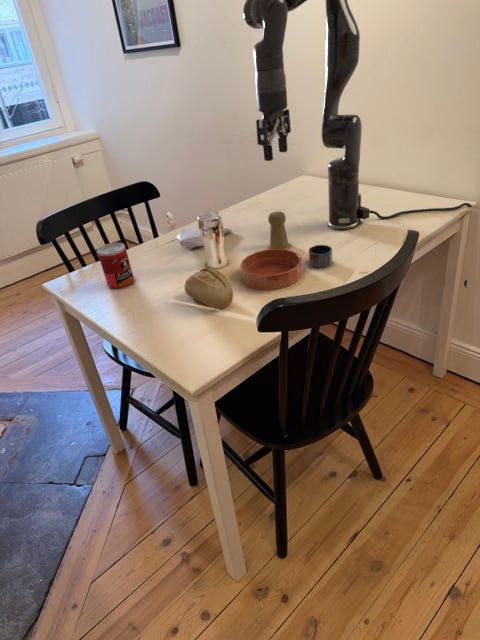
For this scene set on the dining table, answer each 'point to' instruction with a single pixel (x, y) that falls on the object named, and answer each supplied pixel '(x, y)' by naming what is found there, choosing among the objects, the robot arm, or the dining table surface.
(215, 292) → the bread roll
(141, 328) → the dining table surface
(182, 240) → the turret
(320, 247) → the bowl
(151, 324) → the dining table surface
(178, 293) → the dining table surface
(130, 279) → the canned food
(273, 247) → the cork
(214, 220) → the beer glass
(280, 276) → the serving bowl
